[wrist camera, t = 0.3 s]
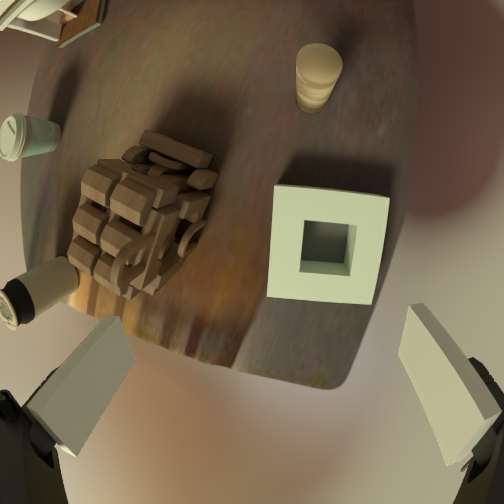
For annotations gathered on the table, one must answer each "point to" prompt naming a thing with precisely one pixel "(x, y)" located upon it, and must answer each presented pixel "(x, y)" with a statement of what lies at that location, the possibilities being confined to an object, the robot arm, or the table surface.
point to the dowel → (316, 76)
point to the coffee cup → (27, 136)
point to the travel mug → (37, 291)
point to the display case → (52, 17)
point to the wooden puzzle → (140, 215)
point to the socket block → (326, 244)
